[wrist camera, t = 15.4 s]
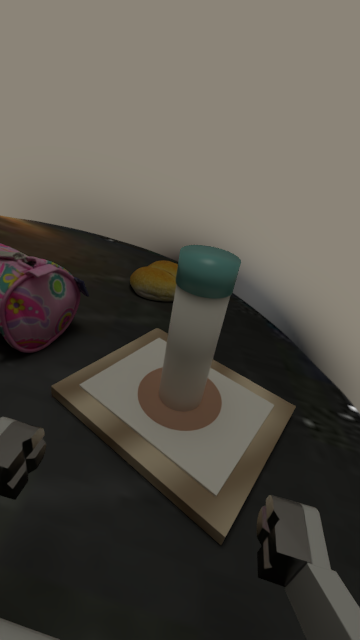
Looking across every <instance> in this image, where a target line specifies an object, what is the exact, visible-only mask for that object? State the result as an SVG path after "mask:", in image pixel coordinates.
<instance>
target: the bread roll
mask: <svg viewBox="0 0 360 640" xmlns="http://www.w3.org/2000/svg"><path fill="white" fill-rule="evenodd" d="M177 268H178V265H177V264H175V263H173V262H169V261H157V262H154V263H152V264H151V265H149V266H148V267H142V268H139V269H137V270H136V271H135V272H134V273H133V274H132V275H131V278H130V284H131V286H132V288H133V289H134V291H135V292H136V293H137V294H138V295H139V296H141V297H143V298H146V299H149V300H154V301H174V296H175V290H176V281H175V280H176V274H177Z"/></svg>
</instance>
